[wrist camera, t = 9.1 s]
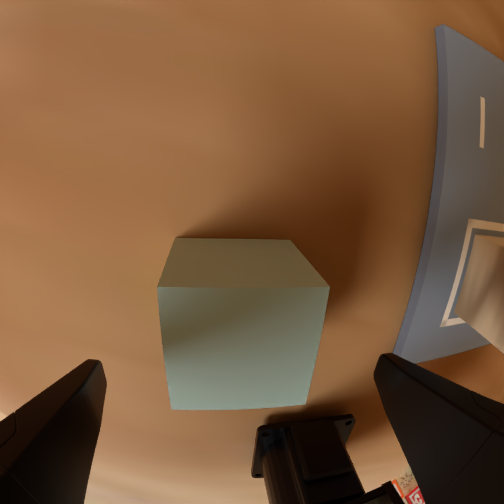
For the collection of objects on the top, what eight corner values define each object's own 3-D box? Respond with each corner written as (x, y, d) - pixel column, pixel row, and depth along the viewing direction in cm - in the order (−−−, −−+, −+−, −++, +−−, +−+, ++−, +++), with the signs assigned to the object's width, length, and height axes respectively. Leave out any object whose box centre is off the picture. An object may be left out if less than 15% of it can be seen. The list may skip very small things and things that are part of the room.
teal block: (279, 334, 15) (305, 404, 11) (179, 335, 15) (171, 409, 10) (289, 239, 14) (329, 286, 9) (175, 237, 13) (157, 286, 8)
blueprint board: (496, 335, 19) (501, 340, 18) (390, 360, 17) (395, 367, 16) (537, 95, 12) (544, 95, 12) (434, 27, 11) (443, 24, 10)
